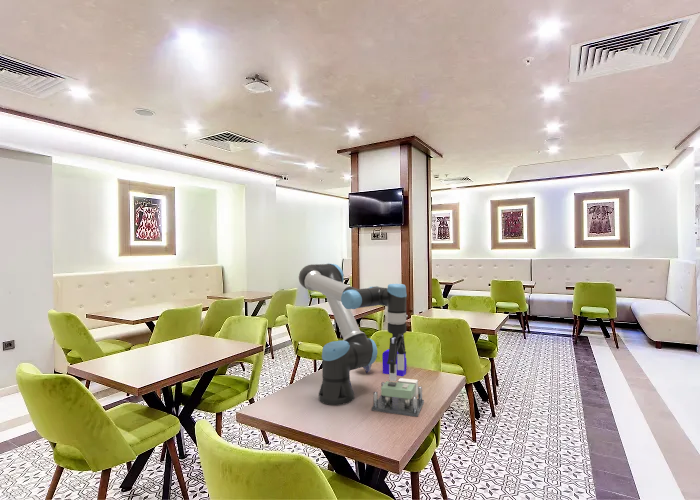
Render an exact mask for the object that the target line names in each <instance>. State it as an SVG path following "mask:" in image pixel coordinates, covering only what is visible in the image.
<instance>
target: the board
mask: <svg viewBox="0 0 700 500" xmlns="http://www.w3.org/2000/svg"><path fill="white" fill-rule="evenodd" d="M414 393H415V384H407V383H398V381H385V384H384V385H383V386H382V387H380V394H381V395H382V396H390V397H398V398H406V399H412V398H413V395H414ZM381 395H380V396H381Z"/></svg>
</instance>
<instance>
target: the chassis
mask: <svg viewBox="0 0 700 500" xmlns="http://www.w3.org/2000/svg"><path fill="white" fill-rule="evenodd" d="M385 382H386V381H385ZM385 382H384V381H383V382H381V387H382V386H383V385H384V384H385ZM381 387H380V388H381ZM372 395H373V396H372V397H373V402H372V403H373V404H372V407H371V411H373V412H379V413H385V414H386V413H388V414H395V415H401V416H402V415H403V416H406V417H407V416H410V417H416V418H417V417H419V415H420V413H421V410H422V408H423V405H424V403H425V400H424V399H423V386H421V385H418V395H417V397H412V399H406V398H398V397H390V396H382V395H380V396H379V397H378V391H373V394H372Z"/></svg>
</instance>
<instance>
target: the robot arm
mask: <svg viewBox="0 0 700 500" xmlns="http://www.w3.org/2000/svg"><path fill="white" fill-rule="evenodd" d="M344 276H345V275H344V271H343V269H342V267H340V265H338V264H335V263H326V264H325V263H321V264H318V263H316V264H315V263H314V264H307V265H305V266H304V267H302V269H301V270H300V272H299V273H298V281H299V284H300V286H301V287H303V288H305V289H306V290H307V291H311V292H312V291H316V292H318V293H320V294H321V295H324V296H325V298H326V301H327V302H328V305H329V307H330V309H331V311H332V312H331V313H332V315H333V317H334V319H335V322H336V323H337V327H338V328H339V331H340V334H341V336H342V338H343V339H342V340H337V341H336V340H334V341H330V342H328V343H326V344H324V346H323V347H322V352H321V360H322V361H321V363H322V364H321V365H322V366H321V369H322V380H321V385H320V388H319V392H318V401H319V402H320V403H323V404H324V405H329V406H330V405H331V406H340V405H341V406H342V405H346V404H349V403H351V402H352V401H354V399H355V392H354V388H353V385H352V383H351V377H350V375H351V371H354V370H357V369H361V368H363V367H367V366H368V365H371V364H372V365H373V364H374V362H375V361H376V360H377V357H378V356H377V355H378V347H377V344H376V341H374V339H372V338H368V337H367V335H366V333H365V332H363V331H361V330H360V327H359V325H358V322H357V320H356V318H355V316H354V313H353V312H352V310H357V309H362V308H368V307H374V306H375V307H376V306H383V307H387V332H388V333H390V334H392V337H390V338H389V348H388V349H389V355H388V362H387V364H389V374H388V377H389V379H388V380H389V382H398V380H397V378H398V377H397V370H404V354H407V351H406V345H405V337H404V336H405V334H406V333H407V323H406V322H407V318H408V317H409V316H408V314H407V298H408V297H407V296H408V295H407V287H406V285H405V284H404V283H403V284H402V283H388V285H387V287H380V286H377V285H376V286H369V287H368V288H356V287H354V286H351V285H348V284H345V283H344V279H345V277H344ZM397 352H398V353H399V354H397ZM396 359H397V364H396ZM391 360H392V361H391Z"/></svg>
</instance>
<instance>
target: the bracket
mask: <svg viewBox="0 0 700 500" xmlns="http://www.w3.org/2000/svg"><path fill="white" fill-rule="evenodd" d="M397 354H399V353H398V352H397ZM406 354H407V353H406ZM406 354H404V370H397V376H398V377H404V376H405V375H407V357H406ZM388 355H389V348H387V349H386V350H385V351H383V352H382V374H384V375H389V364H387V362H388ZM391 361H392V360H391ZM396 364H397V359H396Z"/></svg>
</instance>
